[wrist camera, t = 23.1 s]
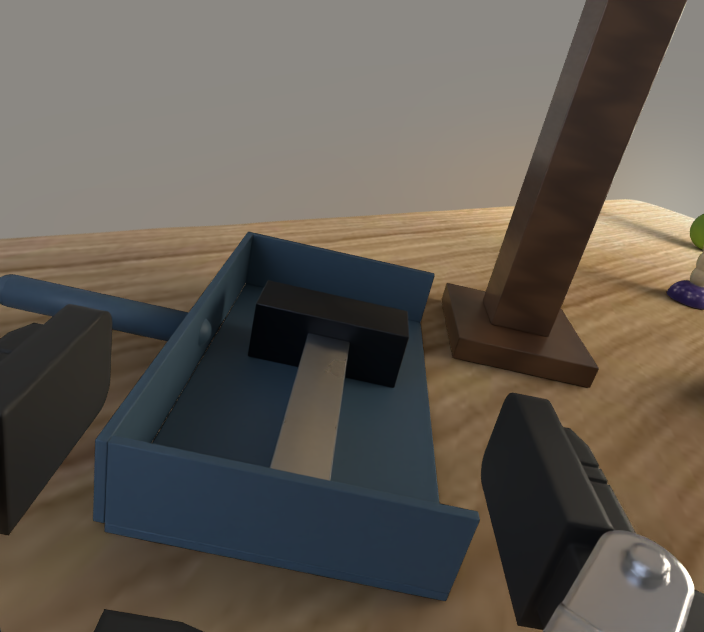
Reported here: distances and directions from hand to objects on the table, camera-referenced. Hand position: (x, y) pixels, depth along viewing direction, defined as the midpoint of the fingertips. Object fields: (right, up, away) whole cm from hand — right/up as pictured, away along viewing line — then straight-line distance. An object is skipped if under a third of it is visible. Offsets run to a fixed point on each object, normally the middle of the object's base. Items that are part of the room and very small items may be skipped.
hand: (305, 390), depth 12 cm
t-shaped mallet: (-1, -3, +16) cm, 16 cm away
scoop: (-6, -1, +18) cm, 19 cm away
